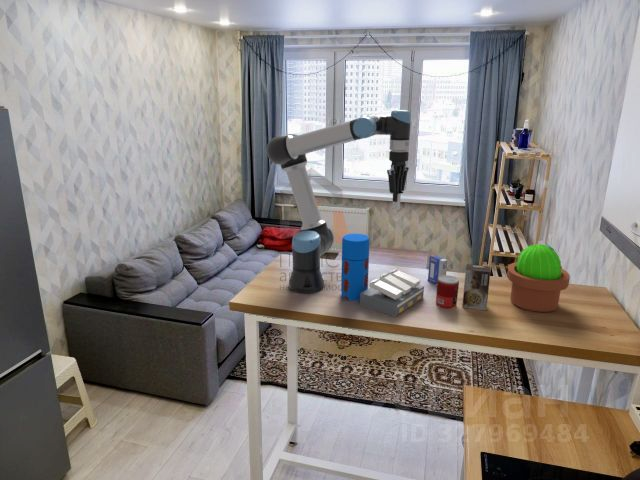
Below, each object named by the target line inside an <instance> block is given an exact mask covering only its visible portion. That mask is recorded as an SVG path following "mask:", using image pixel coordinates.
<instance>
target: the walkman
mask: <svg viewBox="0 0 640 480" xmlns="http://www.w3.org/2000/svg"><path fill="white" fill-rule="evenodd" d="M428 262H429V263H428V273H427V275H428V276H427V281H428V282H430V283H431V284H435V285H436V284H437V282H438V277H439V276H443V275H447V270H448V268H447V266H448V259H446V258H443V257H441V256H438V255H436V254H432V255H430V256H429V261H428Z"/></svg>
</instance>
